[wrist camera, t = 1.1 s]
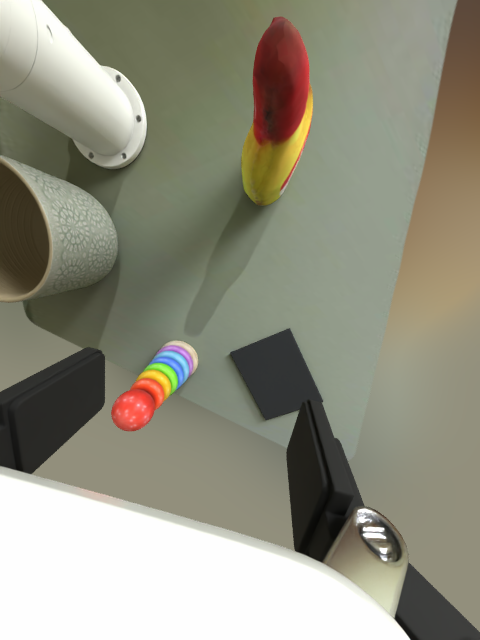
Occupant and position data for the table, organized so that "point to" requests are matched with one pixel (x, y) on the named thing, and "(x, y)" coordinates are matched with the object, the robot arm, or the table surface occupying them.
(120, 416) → the stacking toy
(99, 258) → the planter
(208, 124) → the table surface
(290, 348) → the flat black rectangular pad
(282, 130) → the bottle
